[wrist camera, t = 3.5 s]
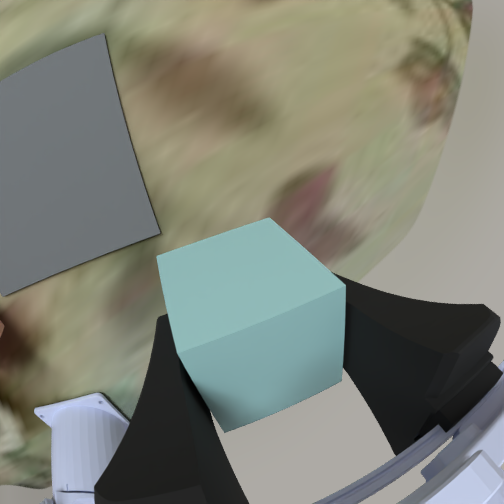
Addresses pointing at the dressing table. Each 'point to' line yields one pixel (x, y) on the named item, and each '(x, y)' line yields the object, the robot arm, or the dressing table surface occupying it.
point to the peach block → (1, 328)
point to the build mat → (66, 167)
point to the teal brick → (254, 321)
